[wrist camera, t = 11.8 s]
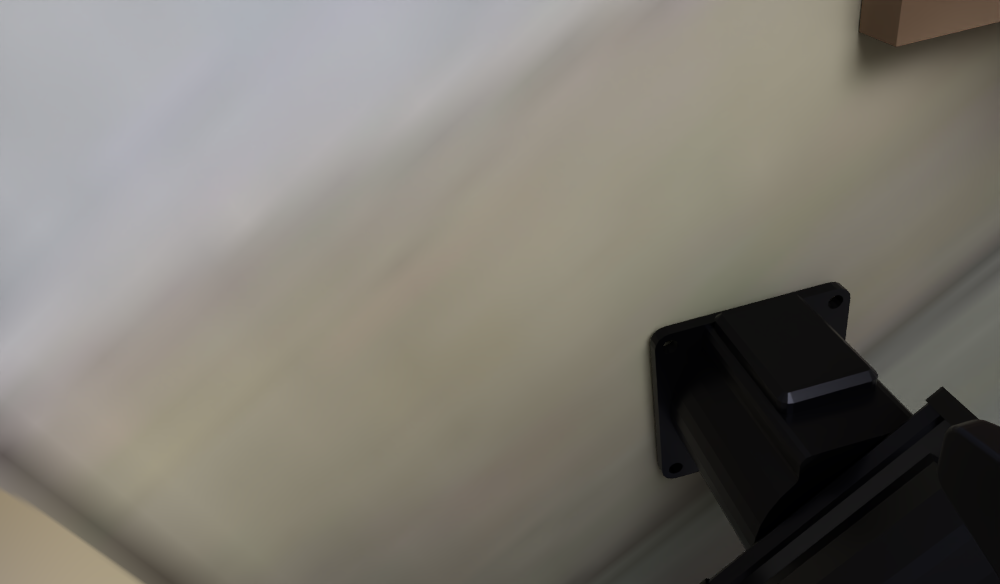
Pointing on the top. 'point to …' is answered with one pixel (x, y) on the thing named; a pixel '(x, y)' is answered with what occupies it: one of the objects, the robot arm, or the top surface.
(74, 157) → the top surface
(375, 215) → the top surface
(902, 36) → the board
